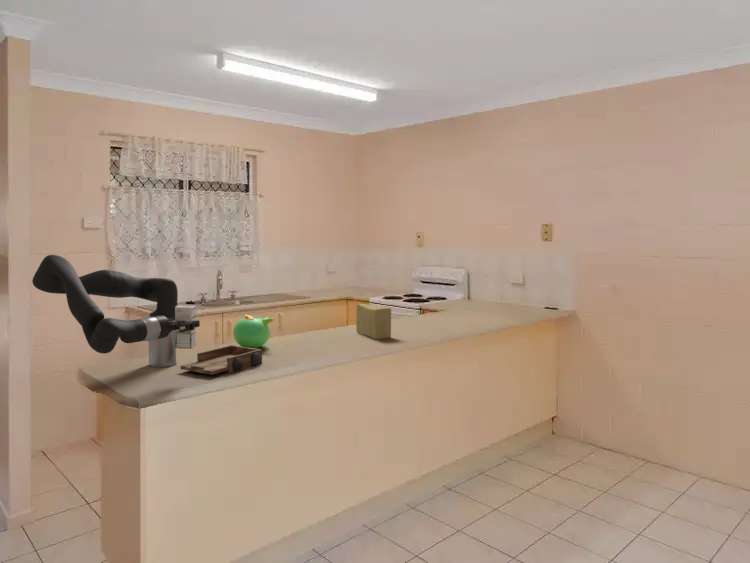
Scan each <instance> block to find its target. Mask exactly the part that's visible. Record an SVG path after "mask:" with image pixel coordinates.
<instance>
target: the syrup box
mask: <svg viewBox="0 0 750 563" xmlns="http://www.w3.org/2000/svg"><path fill="white" fill-rule="evenodd" d="M175 320H184V321H185V322H187V321H196V320H197V305H196V304H195V305H194V304H177V306H176V307H175ZM179 323H180V324H182V322H179ZM196 328H197V327H195V328H194V330H190V331H184V332H179V331H176V332H175V348H176V349H187V350H188V349H190V350H191V349H194V347H196V345H197V339H196V338H197V337H196V335H197V334H196V333H197V332H196Z"/></svg>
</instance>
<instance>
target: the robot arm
mask: <svg viewBox="0 0 750 563" xmlns="http://www.w3.org/2000/svg"><path fill="white" fill-rule="evenodd" d="M31 283H32V285H33V286H34V287H35V288H36V289H37V290H39V291H41V292H45V293H48V294H56V295H57V294H58V295H64V294H65V296H66V301H67V305H68V309H69V311H70V313H71V315H72V316H73V317H74V319H75V320H76V322H78V323H79V325H80V326H81V328H82V332H83V334H84V337H85V339H86V342H87V344H88V345H89V347H90V348H91V349H92V350H93V351H95V352H96V353H99V354H105V355H106V354H109V353H111V352H112V351H113V350H114V348H115V347H116V346H117V343H118V341H119V339H120V341H121V342H123V344H124V343H125V344H134V343H139V342H140V343H141V342H148V364H149V365H150V366H151V367H155V368H165V367H171V366H175V365H177V348H175V332H176V331H179V332H184V331H190V330H194V328H195V327H196V328H199V327H200V326H201V324H200V323H201V322H200V320H199V319H196V321H187V322H185V321H184V320H175V307H176V306H178V300H179V299H178V286H177V284H176V282H175V281H174V280H173V279H171V278H164V277H163V278H162V277H151V278H150V277H136V276H134V275H130V274H128V273H125V272H120V271H115V270H109V269H101V270H95V271H93V272H90V273H87V274H83V275H82V276H79V275H78V273H77V271H76V269H75V267H74V266H73V265H72V263H71V262H70V261H69V260H68V259H67V258H65V257H62V256H60V255H57V254H50V255H46V256H45V257H44V258H43V259H42V261H41V263H39V266H38V268H37V270H36V272H35V273H34V275H33V277H32V282H31ZM91 296H99V297H106V298H119V299H120V298H123V299H124V298H138V299H142V300H146V301H150V302H154V303H156V309H155V310H154V311H152V312H150V313H149V316H146V317H142V318H137V319H132V320H126V319H125V320H123V319H119V318H111V317H108V318H107V317H106V318H105V314H104V312H103V311H102V310H101V309H100V307H99V306H98V305H97V304H96V302H94V300H93V299H92V298H91ZM179 322H182V324H180V323H179Z"/></svg>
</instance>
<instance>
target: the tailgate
mask: <svg viewBox="0 0 750 563" xmlns="http://www.w3.org/2000/svg"><path fill="white" fill-rule="evenodd" d="M180 370H183V371H187V372H189V371H190V372H194V373H195V372H196V373H200V374H205V375H210V376H211V375H212V376H213V375H216V374H219V373H224V372H223V371H226V370H228V367H227V366H221V365H215V364H209V363H203V362H198V361H194V362H190V363H186V364H183V365H180Z"/></svg>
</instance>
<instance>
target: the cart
mask: <svg viewBox="0 0 750 563" xmlns="http://www.w3.org/2000/svg"><path fill="white" fill-rule="evenodd" d="M196 357H197V359H196V360H197V362H203V363H209V364H215V365H221V366H227V367H228V370H226V371H223V372H222V373H224V372H225V374H233V373H236V372H241V370H245V369H248V367H249V368H252V367H257V366H256V365H258V366H259V365H261V364H260V363H262V364H263V349H262V348H261V349H260V348H248V347H243V346H241V345H227V346H226V345H225V346H221V347H218V348H214V349H209V350H206V351H202V352H198V353H197V355H196ZM251 366H252V367H251Z"/></svg>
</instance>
